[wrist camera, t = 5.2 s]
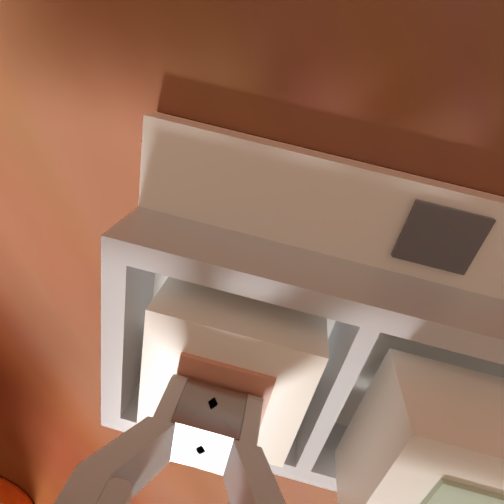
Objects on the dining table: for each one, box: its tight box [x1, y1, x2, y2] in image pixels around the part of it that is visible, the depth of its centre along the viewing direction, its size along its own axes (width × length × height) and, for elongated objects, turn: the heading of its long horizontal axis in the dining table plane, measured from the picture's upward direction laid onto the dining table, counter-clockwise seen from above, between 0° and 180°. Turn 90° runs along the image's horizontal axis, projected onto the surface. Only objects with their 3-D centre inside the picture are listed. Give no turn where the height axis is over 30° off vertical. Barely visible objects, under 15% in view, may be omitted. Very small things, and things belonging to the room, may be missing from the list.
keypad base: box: [101, 112, 504, 492], centre depth 13 cm, size 24×15×4 cm, turn 78°
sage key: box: [335, 348, 504, 504], centre depth 11 cm, size 6×6×3 cm
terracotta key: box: [137, 277, 329, 468], centre depth 13 cm, size 6×6×3 cm
